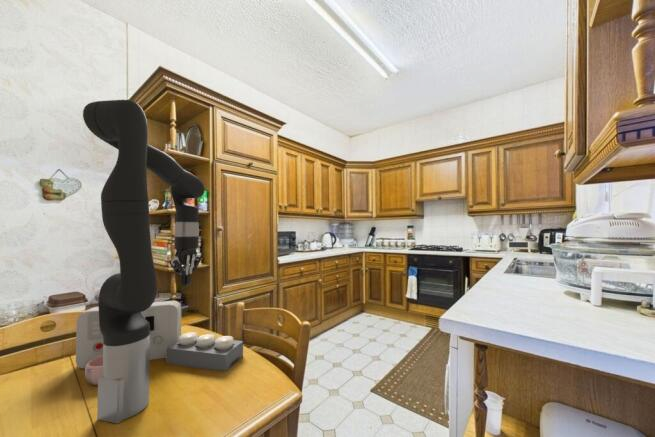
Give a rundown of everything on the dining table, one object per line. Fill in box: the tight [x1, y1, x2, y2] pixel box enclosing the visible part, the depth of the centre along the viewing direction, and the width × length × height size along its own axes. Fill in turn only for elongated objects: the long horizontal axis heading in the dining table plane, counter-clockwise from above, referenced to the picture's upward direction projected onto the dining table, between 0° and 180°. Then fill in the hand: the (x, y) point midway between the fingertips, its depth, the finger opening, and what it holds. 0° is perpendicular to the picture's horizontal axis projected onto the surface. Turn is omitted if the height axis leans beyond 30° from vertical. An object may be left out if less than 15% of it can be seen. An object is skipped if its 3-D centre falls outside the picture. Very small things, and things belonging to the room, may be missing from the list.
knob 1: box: [179, 331, 198, 346], centre depth 90 cm, size 6×6×6 cm
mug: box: [84, 355, 103, 386], centre depth 78 cm, size 12×10×6 cm
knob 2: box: [197, 333, 216, 348], centre depth 88 cm, size 6×6×6 cm
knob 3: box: [215, 335, 234, 351], centre depth 87 cm, size 6×6×6 cm
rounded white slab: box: [75, 300, 182, 369], centre depth 88 cm, size 29×8×18 cm, turn 107°
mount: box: [165, 335, 244, 372], centre depth 88 cm, size 10×22×5 cm, turn 77°
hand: (185, 285), depth 90 cm, fingers closed
